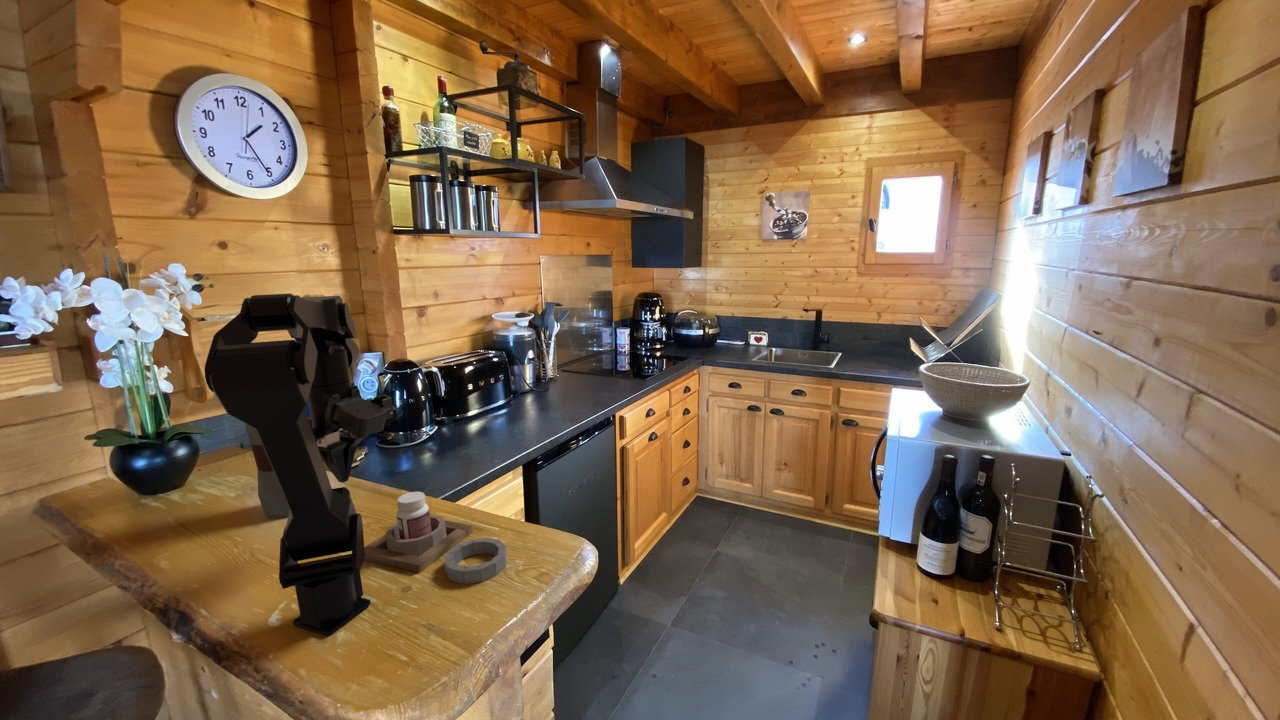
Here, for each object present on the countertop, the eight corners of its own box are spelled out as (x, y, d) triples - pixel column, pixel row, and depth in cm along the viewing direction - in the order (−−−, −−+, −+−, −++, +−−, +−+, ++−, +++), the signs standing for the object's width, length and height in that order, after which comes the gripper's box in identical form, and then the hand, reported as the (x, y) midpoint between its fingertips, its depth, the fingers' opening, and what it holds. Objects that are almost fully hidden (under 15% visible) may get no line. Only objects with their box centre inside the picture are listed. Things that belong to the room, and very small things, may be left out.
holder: (482, 588, 73) (481, 575, 72) (433, 577, 76) (432, 564, 75) (517, 555, 81) (516, 543, 80) (471, 546, 84) (470, 534, 83)
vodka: (329, 503, 100) (304, 348, 94) (275, 524, 93) (245, 357, 87) (305, 492, 105) (280, 344, 99) (252, 512, 98) (222, 353, 92)
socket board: (419, 572, 77) (417, 553, 76) (358, 558, 81) (355, 540, 81) (472, 532, 88) (471, 515, 87) (416, 521, 92) (414, 505, 92)
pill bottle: (438, 537, 86) (432, 490, 85) (424, 554, 82) (417, 504, 80) (410, 537, 87) (404, 490, 85) (395, 553, 82) (388, 503, 81)
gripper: (308, 403, 66) (327, 517, 69) (418, 371, 83) (429, 464, 86) (248, 397, 70) (268, 506, 73) (365, 367, 87) (377, 457, 90)
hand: (343, 481), depth 80 cm, fingers closed
